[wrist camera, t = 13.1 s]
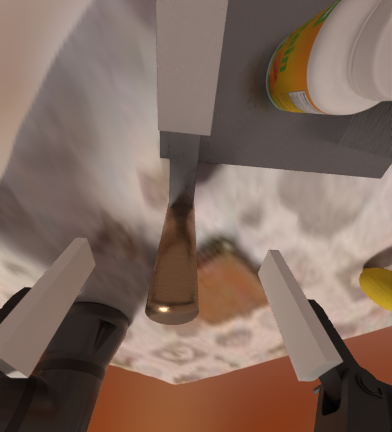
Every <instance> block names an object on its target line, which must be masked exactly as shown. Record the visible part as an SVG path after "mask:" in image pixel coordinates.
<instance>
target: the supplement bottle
mask: <svg viewBox="0 0 392 432" xmlns="http://www.w3.org/2000/svg"><path fill="white" fill-rule="evenodd" d="M266 89H267V93H268V96H269V98H270V100H271V102H272V103H273V104H274V105H275V106H276V107H277V108H279V109H281V110H284V111H289V112H300V113H314V114H328V115H350V114H355V113H358V112H361V111H364V110H366V109H369V108H371V107H373V106H375V105H376V104H378V103H380V102H381V101H392V0H337V1H336V2H334V3H333V4H332V5H330V6H329V7H327V8H326V9H325V10H323V11H322V12H320V13H319V14H317V15H316V16H315V17H313V18H312V19H310V20H309V21H307V22H306V23H304V24H303V25H302V26H300V27H299V28H297V29H296V30H294V31H293V32H292V33H291V34H289V35H288V36H287V37H286V38H285V39H284V40H283V41H282V42H281V43H280V45H279V46H278V47H277V49H276V50H275V52H274V54H273V56H272V58H271V60H270V63H269V66H268V69H267V74H266Z"/></svg>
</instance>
